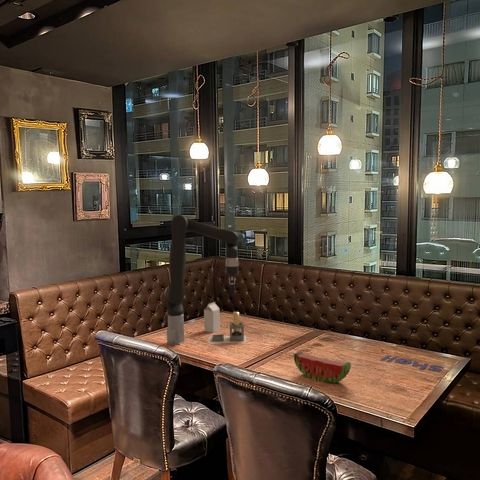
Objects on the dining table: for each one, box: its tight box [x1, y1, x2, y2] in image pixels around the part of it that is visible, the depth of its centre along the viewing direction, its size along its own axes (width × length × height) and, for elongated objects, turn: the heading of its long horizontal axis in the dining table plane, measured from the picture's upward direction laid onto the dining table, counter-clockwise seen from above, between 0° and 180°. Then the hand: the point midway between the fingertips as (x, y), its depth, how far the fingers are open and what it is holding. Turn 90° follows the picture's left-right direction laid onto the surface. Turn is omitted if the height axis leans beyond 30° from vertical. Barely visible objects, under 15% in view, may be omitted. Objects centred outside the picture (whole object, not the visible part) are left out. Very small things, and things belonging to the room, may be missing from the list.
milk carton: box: [203, 301, 221, 333], centre depth 274 cm, size 7×7×19 cm
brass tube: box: [232, 311, 241, 336], centre depth 255 cm, size 4×4×16 cm
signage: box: [379, 354, 445, 372], centre depth 217 cm, size 28×1×10 cm
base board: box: [208, 335, 247, 345], centre depth 256 cm, size 22×14×2 cm, turn 92°
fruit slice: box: [293, 350, 352, 384], centre depth 200 cm, size 26×6×10 cm, turn 52°
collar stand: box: [211, 321, 245, 342], centre depth 255 cm, size 18×8×9 cm, turn 91°
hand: (232, 292), depth 257 cm, fingers open, 8 cm apart
